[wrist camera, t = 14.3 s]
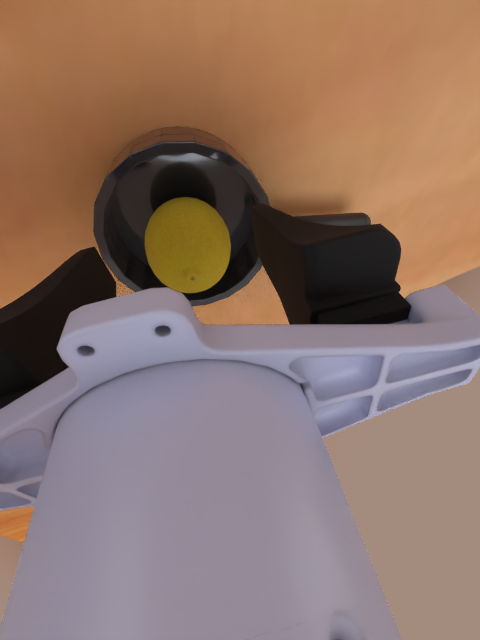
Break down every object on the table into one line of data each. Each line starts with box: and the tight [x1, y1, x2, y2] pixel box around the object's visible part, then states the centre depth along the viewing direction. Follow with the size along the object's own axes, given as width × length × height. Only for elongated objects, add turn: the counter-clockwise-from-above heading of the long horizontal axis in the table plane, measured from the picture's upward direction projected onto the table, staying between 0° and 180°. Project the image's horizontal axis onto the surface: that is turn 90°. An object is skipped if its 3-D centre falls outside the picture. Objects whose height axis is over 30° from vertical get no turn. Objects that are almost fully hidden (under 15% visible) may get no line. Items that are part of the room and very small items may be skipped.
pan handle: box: [294, 213, 371, 226], centre depth 22 cm, size 9×2×2 cm, turn 89°
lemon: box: [145, 197, 231, 293], centre depth 19 cm, size 6×6×8 cm
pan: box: [93, 127, 270, 306], centre depth 21 cm, size 12×12×4 cm
